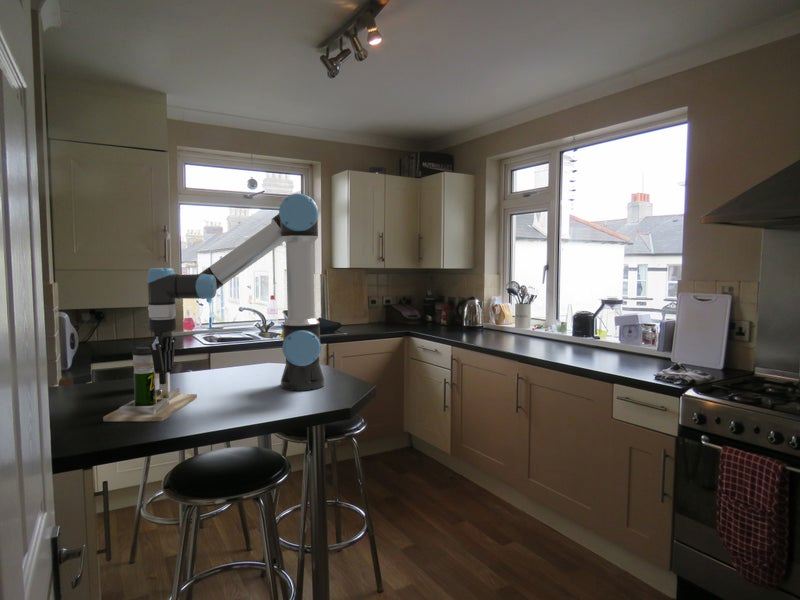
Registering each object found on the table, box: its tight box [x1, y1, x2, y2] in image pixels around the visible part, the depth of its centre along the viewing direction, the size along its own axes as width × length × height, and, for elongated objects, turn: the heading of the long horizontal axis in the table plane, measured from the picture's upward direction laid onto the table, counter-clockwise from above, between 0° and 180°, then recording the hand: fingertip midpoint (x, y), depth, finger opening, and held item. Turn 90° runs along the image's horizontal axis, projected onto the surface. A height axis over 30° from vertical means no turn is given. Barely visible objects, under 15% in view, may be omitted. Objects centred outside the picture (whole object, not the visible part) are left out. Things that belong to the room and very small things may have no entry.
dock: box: [102, 387, 198, 422], centre depth 150 cm, size 16×24×3 cm, turn 0°
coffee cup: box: [131, 344, 159, 391], centre depth 173 cm, size 9×9×15 cm
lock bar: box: [155, 389, 168, 403], centre depth 153 cm, size 2×8×3 cm, turn 0°
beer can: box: [133, 366, 156, 406], centre depth 145 cm, size 5×5×12 cm
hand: (164, 393), depth 157 cm, fingers closed
